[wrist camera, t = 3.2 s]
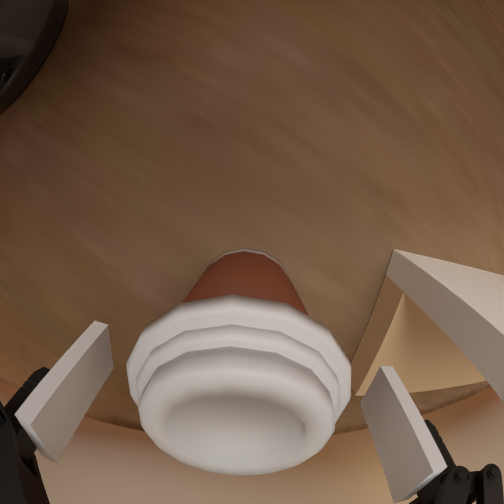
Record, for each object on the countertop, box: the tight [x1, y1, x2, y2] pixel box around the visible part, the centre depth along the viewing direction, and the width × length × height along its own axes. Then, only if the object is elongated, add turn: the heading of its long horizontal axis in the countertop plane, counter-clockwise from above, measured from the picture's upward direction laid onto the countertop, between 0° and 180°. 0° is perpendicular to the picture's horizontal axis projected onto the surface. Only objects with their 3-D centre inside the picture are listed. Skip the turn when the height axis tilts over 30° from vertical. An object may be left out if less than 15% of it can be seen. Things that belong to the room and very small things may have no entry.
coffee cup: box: [126, 248, 351, 476], centre depth 14 cm, size 9×9×12 cm
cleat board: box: [350, 249, 504, 402], centre depth 13 cm, size 12×19×16 cm, turn 80°
